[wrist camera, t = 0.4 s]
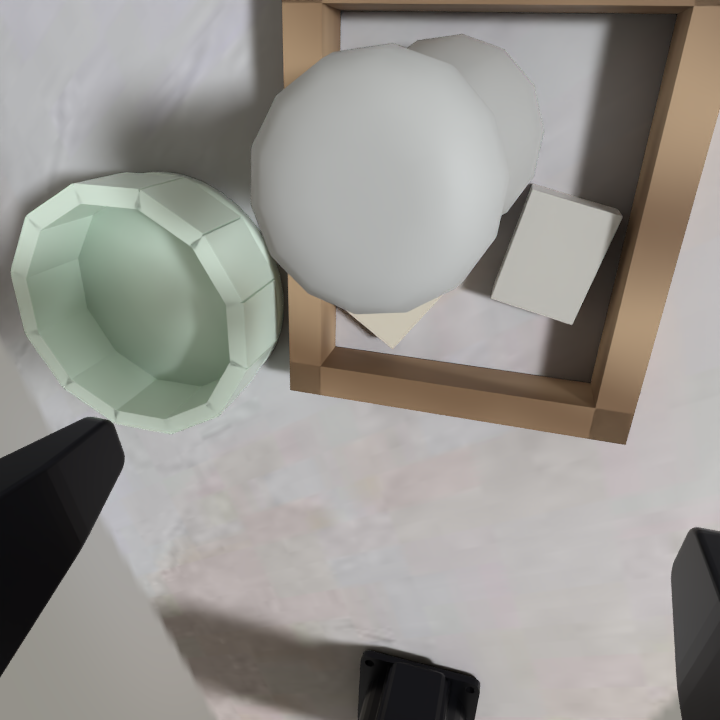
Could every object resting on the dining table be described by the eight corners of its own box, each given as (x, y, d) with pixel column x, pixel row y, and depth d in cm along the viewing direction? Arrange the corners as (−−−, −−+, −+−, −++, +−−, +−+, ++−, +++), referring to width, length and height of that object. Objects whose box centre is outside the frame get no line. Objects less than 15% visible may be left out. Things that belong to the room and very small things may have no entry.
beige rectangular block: (401, 334, 24) (392, 349, 23) (345, 287, 24) (333, 300, 23) (464, 263, 22) (459, 275, 21) (405, 212, 22) (396, 221, 21)
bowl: (286, 404, 27) (251, 449, 23) (99, 372, 29) (43, 410, 26) (280, 181, 22) (237, 197, 19) (60, 163, 25) (-13, 175, 21)
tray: (618, 417, 23) (625, 444, 21) (306, 369, 26) (290, 389, 24) (740, -40, 16) (765, -54, 15) (303, -36, 19) (280, -49, 17)
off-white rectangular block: (569, 309, 22) (572, 324, 21) (493, 284, 22) (490, 298, 21) (616, 207, 20) (622, 216, 19) (532, 182, 20) (532, 189, 19)
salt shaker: (381, 223, 22) (223, 371, 11) (364, 55, 20) (140, 16, 8) (542, 212, 20) (556, 373, 9) (543, 27, 18) (565, -67, 7)
